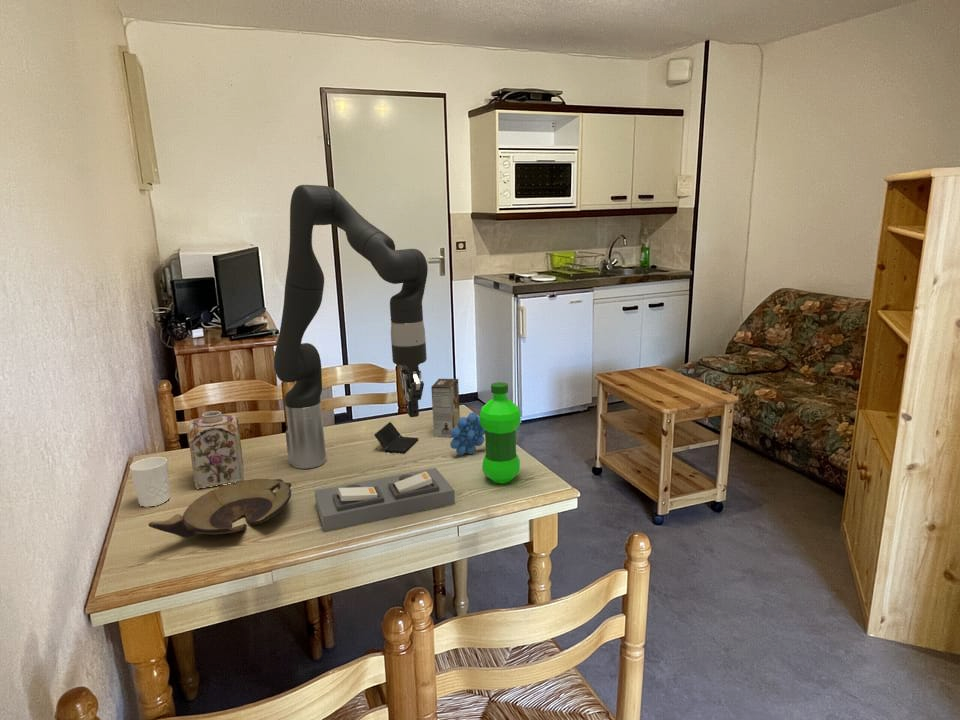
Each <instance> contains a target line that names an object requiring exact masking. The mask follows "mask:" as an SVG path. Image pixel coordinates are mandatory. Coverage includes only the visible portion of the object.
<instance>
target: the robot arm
mask: <svg viewBox="0 0 960 720" xmlns="http://www.w3.org/2000/svg"><path fill="white" fill-rule="evenodd" d="M289 205H290V208H289V247H288V248H289V249H288V252H289V253H288V262H287V270H286V276H285V282H284V283H285V285H284V293H283V294H284V296H283V297H284V298H283V309H282V314H281V323H280V327H279V333H278V337H277V341H276V347H275V350H274V357H273V367H274V371H275V375H276V377H277V378H278V380H279V381H281V382H283V383H287V384H288V383H294V382H295V384H294V386H293V387H292V388H291V389H290V390H289V391H288V392H286V393H285V395H284V404H285V414H286V423H287V430H286V431H285V439H286V440H285V441H286V448H287V449H286V450H287V459H288V464H289V465H291V466H292V467H293V468H295V469H303V470H304V469H312V468H317V467H319V466H322V465H324V464H325V463H326V461H327V453H326V443H325V442H326V441H325V432H324V431H325V430H324V423H323V412H322V410H323V409H322V403H321V395H322V392H323V379H322V377H323V374H322V360H321V357H320V353H319V351H318V349H317V347H315V346H314V345H313V344H312V343H310V342H309V343H308V342H303V343H302V341H303V337H304V334H305V333H306V330H307V329H308V327H309V325H310V324H311V323H312V321H313V319H314V318H315V316H316V315H317V313H318V311H319V309H320V307H321V305H322V301H323V295H324V288H325V275H324V273H323V269H322V267H321V265H320V263H319V260H318V258H317V256H316V254H315V252H314V249H313V230H314V226H328V225H330V226H331V225H332V226H335V227H336V228H338V229H340V230H342V231H344V232H345V237H346V241H347V242H348V243H349V245H350V247H351V248H352V249H353V250H354V251H355V252H356V253H357V254H359V255H361V256H362V257H363V258H364V259H365V260H367V261H369V262H370V264H371V266H372V267H373V269H374V270H375V272H377V274H378V276H379V277H380V278H381V279H382V280H383V281H385V282H387V283H389V284H393V285H398V284H402V286H401V290H400V291H399V292H398V293H395V294H394V295H392V297H390V298H389V299H390V300H389V313H390V325H391V326H390V343H391V354H392V355H391V357H392V362H393V364H395V365H397V366H401V370H399V372H398V375H399V378H400V383H401V387H402V393H403V395H404V396H405V397H404V398H405V400H406V404H407V405H406V406H407V415H408V417H410V418H416V417H419V415H420V411H419V410H420V409H419V408H420V407H419V401H421V400H422V396H423V391H424V385H425V383H424V381H421V379H422V371H421V370H420V368H419V366H420V365H421V364H424V363H425V362H426V361H427V359H428V358H427V343H426V342H427V341H426V331H425V329H426V328H425V324H424V316H423V315H424V313H423V311H424V310H423V298H424V295H425V290H426V285H427V284H426V283H427V280H428V279H427V278H428V262H427V258H426V256H425V255H424V253H423V252H422V251H421V250H419V249H417V248H405V249H396V243H395V241H394V240H393V239H392V238H391V237H390V236H389V235H388V234H386V233H385V232H384V231H383V230H381V229H379V228H378V227H377V226H375V225H374V224H372V223H371V222H369V221H368V220H367V219H366V218H364V216H362V215H361V214H360V213H359V212H358V211H357V210H356V209H355V208H354V207H353V206H352V205H351V204H350V203H349V201H348V200H347V199H345V197H344V196H343V195H342V194H341V193H340V191H338V190H336V189H335V188H334V187H331V186H328V185H318V184H317V185H316V184H300V185H298V186H295V188H294V190H293V191H292V195H291V199H290V204H289Z"/></svg>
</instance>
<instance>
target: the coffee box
mask: <svg viewBox="0 0 960 720" xmlns="http://www.w3.org/2000/svg"><path fill="white" fill-rule="evenodd" d="M431 405H432V424H433V427H432V428H433V437H436V436H440V437H441V438H442V437H443V438H452V436H451V431H452V429H453V428H455V427H458V425H457V423H458V420H459V419H460V418H461V415H460V413H461V411H460V392H459V378H438V379H437V380H436V381H435V383H434V384H433V385H431Z"/></svg>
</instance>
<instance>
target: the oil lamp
mask: <svg viewBox="0 0 960 720" xmlns="http://www.w3.org/2000/svg"><path fill="white" fill-rule="evenodd" d="M291 487H292V483H291V482H285V481H284V480H282V479H281V478H276V479H275V478H274V479H272V478H254V479H253V478H252V479H244V481H239V482H236V483H231V484H227V485H223V486H219V487H218V488H214V489H212V490H210V491H208V492H207V493H204V494H203V495H201V496H200V497H197V499H195V500H194V501H193V502H192V503H190V505H189V506H188V507H187V508H186V509H185V511H184V512H183V514H179V513H177V514H174V515H173V516H172V517H170V518H168V519H166V520H161V521H157V520H156V521H154V520H153V521H150V522H149V523H148V527H149V528H152V529H155V530H157V531H162V532H166V533H169V534H172V535H176V536H179V537H182V538H193V537H195V536H197V535H203V534H204V535H206V534H207V535H223V534H230V533H236V532H240V531H243V530H245V529H246V528H247V527H248V525H247V524H249V525H251V526H255V525H260V524H262V523H264V522H266V521H269V520H271V518H273V517H274V516H276V515H277V514H279V512H280V511H282V510H283V509H284V508H285V507H286V506H287V504H289V501H290V500H291V498H292V489H291ZM276 489H277V490H276ZM274 490H276V491H275V492H274ZM242 517H245V520H246V522H247V523H243V524H240V525H237V526H233V523H234V522H236V521H238V520H239V519H241V518H242ZM232 522H233V523H232Z"/></svg>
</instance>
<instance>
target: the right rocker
mask: <svg viewBox="0 0 960 720" xmlns="http://www.w3.org/2000/svg"><path fill="white" fill-rule="evenodd" d="M432 483H433V482H432V478H431V477H430V476H429V475H428V473H427V472H423V473H420V474H417V475H415V476H412V477H409V478H406V479H404V480H401V481H398V482H395V483H394V484H395V488H396V489H397V491H398V493H404V492H409V491H413V490H415V489H418V488H421V487H423V486H426V485H429V484H432Z"/></svg>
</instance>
